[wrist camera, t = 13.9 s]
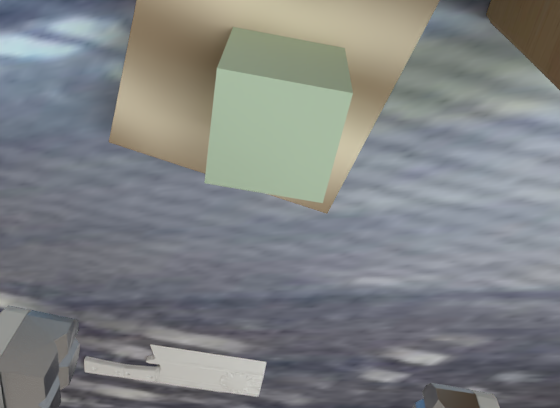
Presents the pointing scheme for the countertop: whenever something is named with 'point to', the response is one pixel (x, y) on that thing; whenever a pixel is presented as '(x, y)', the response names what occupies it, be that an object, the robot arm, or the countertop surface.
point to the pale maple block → (208, 51)
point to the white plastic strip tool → (189, 370)
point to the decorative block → (531, 31)
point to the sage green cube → (277, 115)
